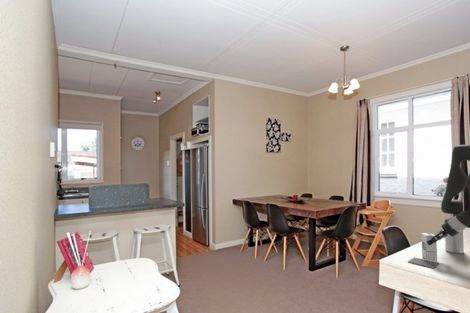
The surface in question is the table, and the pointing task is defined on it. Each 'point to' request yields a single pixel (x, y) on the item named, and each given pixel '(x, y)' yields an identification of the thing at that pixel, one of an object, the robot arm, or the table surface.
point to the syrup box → (429, 247)
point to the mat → (424, 262)
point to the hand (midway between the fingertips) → (430, 242)
